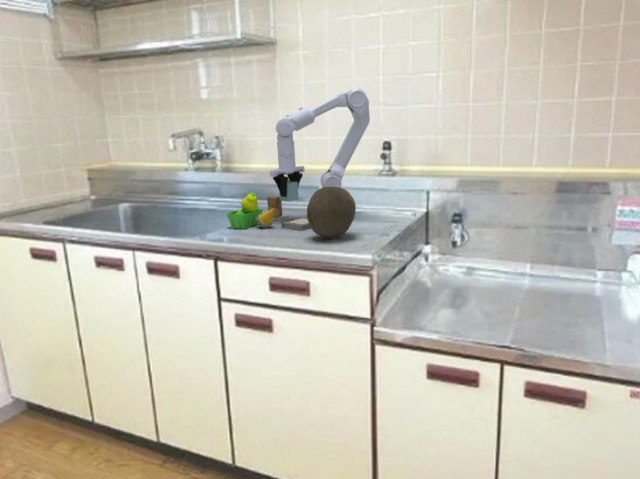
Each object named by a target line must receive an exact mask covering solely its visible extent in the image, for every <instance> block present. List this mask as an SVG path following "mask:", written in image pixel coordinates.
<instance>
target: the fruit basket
mask: <svg viewBox="0 0 640 479" xmlns="http://www.w3.org/2000/svg"><path fill="white" fill-rule="evenodd" d="M240 205H241V209H237V210H234V211H233V210H232V211H230V212H227V213H225V214H226V217H227V218H228V221H229V224H230V226H231V228H232V229H240V228H242V229H241V230H245V229H247V228H251V227H254V226H257V225H259V223H258V222H257V219H256V218H257V216H258V215H259V214H263V213H264V212H263V211H264V208H258V206H259V204H258V198H257V194H256V193H255V192H250V193H248V195H246V196H245V197H244V198H243V199H242V200H241V202H240Z"/></svg>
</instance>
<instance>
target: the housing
mask: <svg viewBox="0 0 640 479" xmlns="http://www.w3.org/2000/svg"><path fill="white" fill-rule="evenodd" d="M278 192H279V191H278ZM279 197H280V200H281V201H283V202H293V201H297V200H299V187H298V182H293V181H290V179H289V178H288V181H287V196H286V197H281V195H280V192H279Z"/></svg>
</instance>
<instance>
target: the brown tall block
mask: <svg viewBox="0 0 640 479" xmlns="http://www.w3.org/2000/svg"><path fill="white" fill-rule="evenodd" d="M266 201H267V211H269V210H271V209H273V208H275V211H274V215H273V217H279V216H282V214H283V204H282V201H281V200H280V196H276V195H271V196H267V197H266Z"/></svg>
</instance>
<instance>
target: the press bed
mask: <svg viewBox="0 0 640 479" xmlns="http://www.w3.org/2000/svg"><path fill="white" fill-rule="evenodd" d="M280 224H281V228H282V229H286V230H287V229H288V230H294V231H305V230H309V229H312V228H311V227H310V225H309V223H308V219H307V217H300V218H295V219H293V220H292V219H291V220H287V221H285V222H281V223H280Z"/></svg>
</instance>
